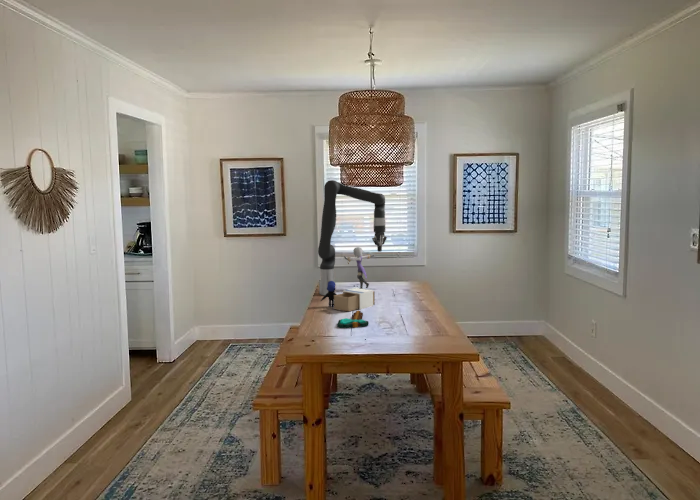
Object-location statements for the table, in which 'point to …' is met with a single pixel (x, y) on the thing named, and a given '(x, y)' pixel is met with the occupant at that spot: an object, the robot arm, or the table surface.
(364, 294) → the sleeve
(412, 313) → the table surface
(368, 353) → the table surface
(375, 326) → the table surface
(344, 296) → the wooden drawer
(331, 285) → the toy
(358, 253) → the figurine
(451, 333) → the table surface
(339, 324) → the toy
